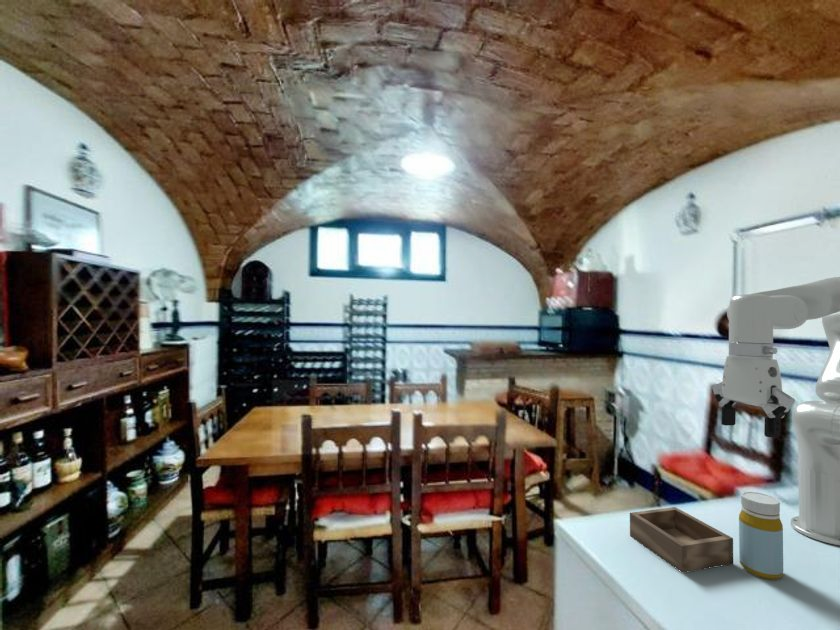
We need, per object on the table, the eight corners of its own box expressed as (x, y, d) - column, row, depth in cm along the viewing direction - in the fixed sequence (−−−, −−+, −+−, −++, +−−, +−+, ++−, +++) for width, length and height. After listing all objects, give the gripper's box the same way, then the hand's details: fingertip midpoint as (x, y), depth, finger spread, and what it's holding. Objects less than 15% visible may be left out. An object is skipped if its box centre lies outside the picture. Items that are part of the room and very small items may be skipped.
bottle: (791, 583, 82) (790, 506, 82) (751, 578, 83) (750, 503, 83) (769, 562, 89) (768, 492, 89) (732, 558, 90) (731, 489, 90)
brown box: (675, 529, 103) (675, 506, 103) (733, 564, 88) (733, 538, 88) (629, 535, 100) (629, 512, 100) (682, 572, 85) (681, 546, 85)
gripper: (808, 354, 83) (807, 441, 82) (727, 349, 99) (726, 421, 99) (777, 354, 81) (776, 442, 81) (701, 348, 98) (700, 421, 98)
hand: (749, 430), depth 90 cm, fingers open, 9 cm apart
